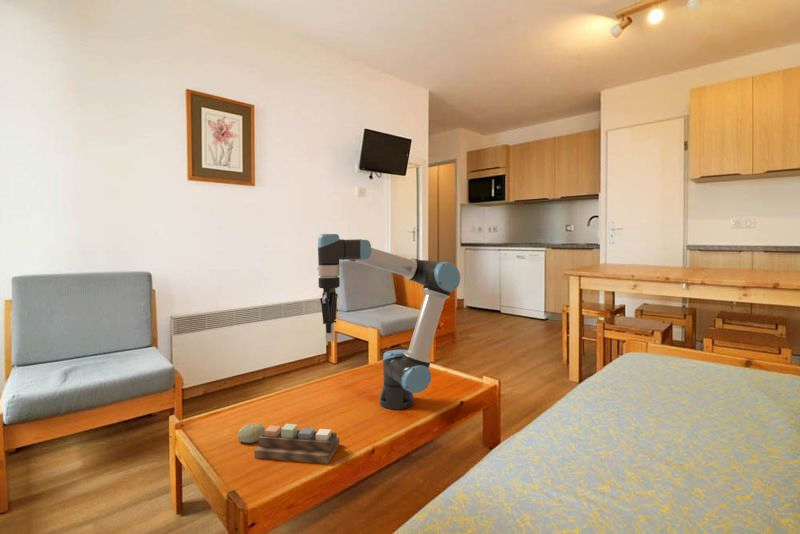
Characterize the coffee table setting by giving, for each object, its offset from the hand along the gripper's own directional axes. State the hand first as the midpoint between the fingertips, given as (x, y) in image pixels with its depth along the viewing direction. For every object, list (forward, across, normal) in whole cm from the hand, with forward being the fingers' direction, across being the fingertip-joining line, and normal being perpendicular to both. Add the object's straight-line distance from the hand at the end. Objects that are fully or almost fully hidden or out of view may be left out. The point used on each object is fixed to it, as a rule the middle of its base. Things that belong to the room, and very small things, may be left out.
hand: (329, 341), depth 143 cm
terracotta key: (+31, +14, -16) cm, 37 cm away
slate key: (+31, +14, -4) cm, 34 cm away
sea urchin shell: (+35, +8, -27) cm, 45 cm away
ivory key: (+31, +14, +2) cm, 34 cm away
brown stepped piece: (+34, +14, -7) cm, 38 cm away
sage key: (+30, +14, -10) cm, 34 cm away
